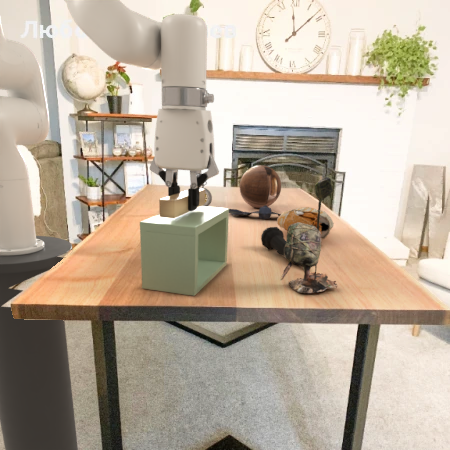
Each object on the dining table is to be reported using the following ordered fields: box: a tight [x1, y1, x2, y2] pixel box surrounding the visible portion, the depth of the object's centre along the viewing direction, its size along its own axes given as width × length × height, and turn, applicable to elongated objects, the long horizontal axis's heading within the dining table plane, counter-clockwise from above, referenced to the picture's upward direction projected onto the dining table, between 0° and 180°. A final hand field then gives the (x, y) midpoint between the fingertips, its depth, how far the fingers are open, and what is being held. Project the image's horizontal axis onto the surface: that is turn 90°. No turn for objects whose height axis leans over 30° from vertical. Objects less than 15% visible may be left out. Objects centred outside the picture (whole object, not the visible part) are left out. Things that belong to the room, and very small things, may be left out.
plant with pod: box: [280, 176, 338, 294], centre depth 79 cm, size 8×11×20 cm
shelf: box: [139, 206, 230, 297], centre depth 85 cm, size 10×20×12 cm, turn 164°
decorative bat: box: [229, 205, 282, 220], centre depth 144 cm, size 30×4×10 cm
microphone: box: [260, 226, 303, 268], centre depth 101 cm, size 6×6×20 cm
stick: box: [158, 189, 206, 218], centre depth 82 cm, size 3×16×3 cm, turn 164°
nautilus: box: [276, 206, 335, 240], centre depth 118 cm, size 8×22×15 cm
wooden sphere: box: [239, 164, 282, 209], centre depth 160 cm, size 15×15×15 cm
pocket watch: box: [200, 181, 213, 207], centre depth 150 cm, size 8×8×10 cm
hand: (183, 208), depth 82 cm, fingers closed on stick, 2 cm apart
